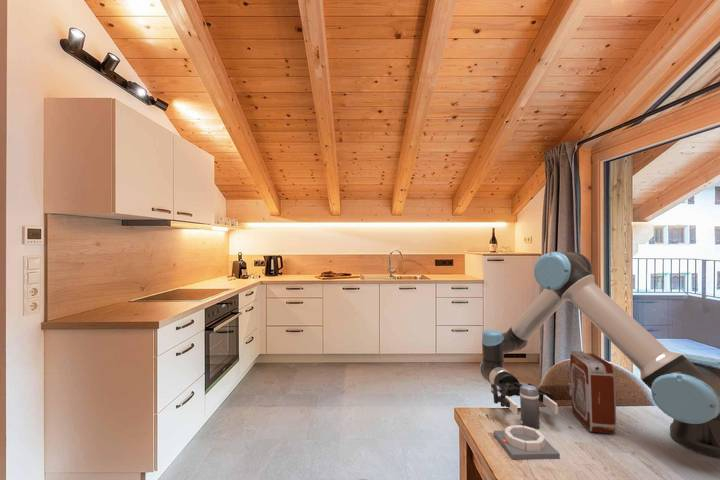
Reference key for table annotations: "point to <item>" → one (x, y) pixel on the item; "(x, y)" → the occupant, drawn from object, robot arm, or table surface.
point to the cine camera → (593, 392)
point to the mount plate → (524, 454)
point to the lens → (529, 406)
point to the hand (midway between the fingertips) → (536, 409)
